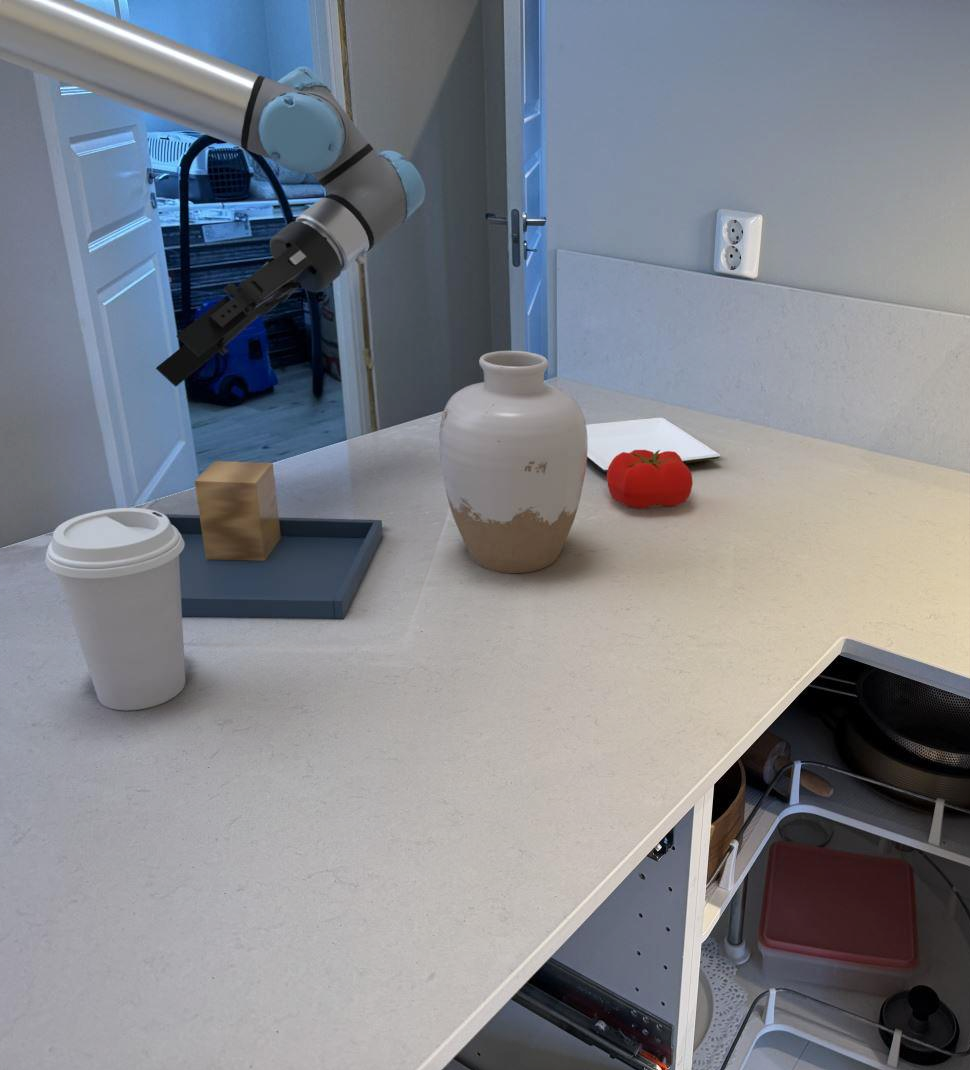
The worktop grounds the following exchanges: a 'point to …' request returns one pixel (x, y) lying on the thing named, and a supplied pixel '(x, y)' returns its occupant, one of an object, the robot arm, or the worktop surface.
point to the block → (238, 510)
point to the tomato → (649, 479)
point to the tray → (279, 571)
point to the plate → (643, 441)
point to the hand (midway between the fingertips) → (176, 362)
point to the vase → (513, 463)
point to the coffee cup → (124, 602)
